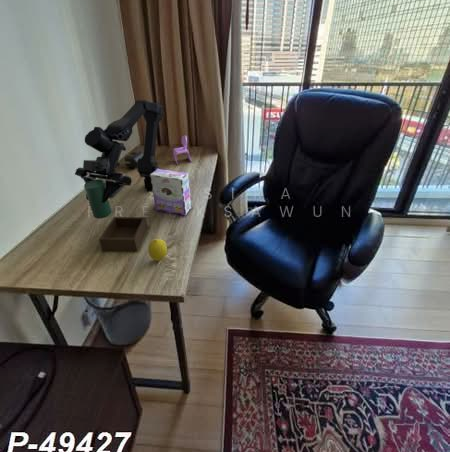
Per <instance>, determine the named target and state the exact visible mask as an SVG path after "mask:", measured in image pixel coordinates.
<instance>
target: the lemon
mask: <svg viewBox="0 0 450 452" xmlns="http://www.w3.org/2000/svg"><path fill="white" fill-rule="evenodd" d="M147 249H148V250H147V251H148V255H149V257H150V259H151V260H153V261H155V262H158V261H162V260H164V259H165V257H166V256H167V253H168V247H167V244H166V242H165V240H163V239H161V238H154V239H152V240H151V241H150V243H149V245H148V248H147Z"/></svg>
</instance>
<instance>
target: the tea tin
mask: <svg viewBox="0 0 450 452" xmlns="http://www.w3.org/2000/svg"><path fill="white" fill-rule="evenodd" d="M104 183H105V182H104V179H96V180H92V181H89V182H87V183H86V184H84V185H83V187H84V191H85V195H86V194H87V197H88V204H89V206H90V209H91V212H92V216H93V218H94V219H96V220H97V219H98V220H99V219H105V218H107V217H109V216H110V215H111V214H112V207H111V204H110V200H109V199H108V200H107V201H106V202H105V203H103V202H102V198H103V195H104V191H105V185H104Z"/></svg>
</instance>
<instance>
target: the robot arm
mask: <svg viewBox="0 0 450 452" xmlns="http://www.w3.org/2000/svg"><path fill="white" fill-rule="evenodd" d="M164 113H165V108H164V106H163V105H162V104H161V103H159V102H158V103H157V102H151V101H149V100H147V99H137V100H136V99H135V101H134V104H133V105H132V106H131V107H130V108H129V110H127V111H126V112H125V114H124V115H123V116H122V117H121V118H118V119H117V120H114V121H112V122H111V123H109V124H108V125H107V126H106V127H105V129H104V128H102V127H100V126H94V127H93V129H92V130H90V131H88V133H87V134H86V135H85V136H84V143H85V144H86V145H87V146H88V147H90V148H92V149H93V150H94V151H97V152H99V153H101V154H100V156H97V157H96V159H95V160H94V159H83V164H82V167H77V168H76V170H75V173H74V175H75V176H77V177H80V178H81V179H82V180H83V182H84V183H85V184H86V183H87V182H89V181H92V180H97V179H98V180H104V181H105V182H104V183H106V188H105V191H104V195H103V198H102V202H103V203H105V202H106V201H107V200H109V199H110V198H112V197H111V195H112V194H113V193H114V192H115V191H117V190H118V189H119V188H120V187H122V188H123V187H124V186H129V187H130V186H131V185H132V181H133V180H132V177H131V176H129V175H127V174H124V173H121V172H116V169H117V167H120V165H121V163H119V159H120V157H121V154H122V152H123V151H127V147H126V146H125V143H124V142H127V141H128V140H129V139H130V137H131V136H132V135H133V128H134V126H135V125H136V124H137V123H138V121H140V119H141V118H142V117H143V119H144V121H145V131H144V132H145V133H144V141H143V142H144V143H143V156H142V158H141V159H138V166H137V167H136V169H137V173H138V174H139V176H140V177H141V178H143V184H144V189H145V190H146V192H153V190H152V184H151V179H150V174H152V173H153V172H154V171H155V170H157V169H161V168H160V167H159V162H158V160H157V157H156V149H157V136H158V126H159V123H160V122H161V121H162V119H163V116H164ZM85 184H84V185H85ZM122 184H123V185H124V186H122ZM85 196H86V197H85V198H86V200H88V197H87V194H86V193H85ZM88 201H89V200H88Z"/></svg>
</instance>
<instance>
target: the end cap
mask: <svg viewBox="0 0 450 452" xmlns="http://www.w3.org/2000/svg"><path fill="white" fill-rule="evenodd" d="M143 153H144V151H142V150H139V151H138V152H137V151H136V152H133V151H132V152H131V153H130V155H127V156H125V157H124V162H126V163H125V167H126V169H127V170H135V169H137V166H138V159H141V158H142V156H143Z"/></svg>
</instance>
